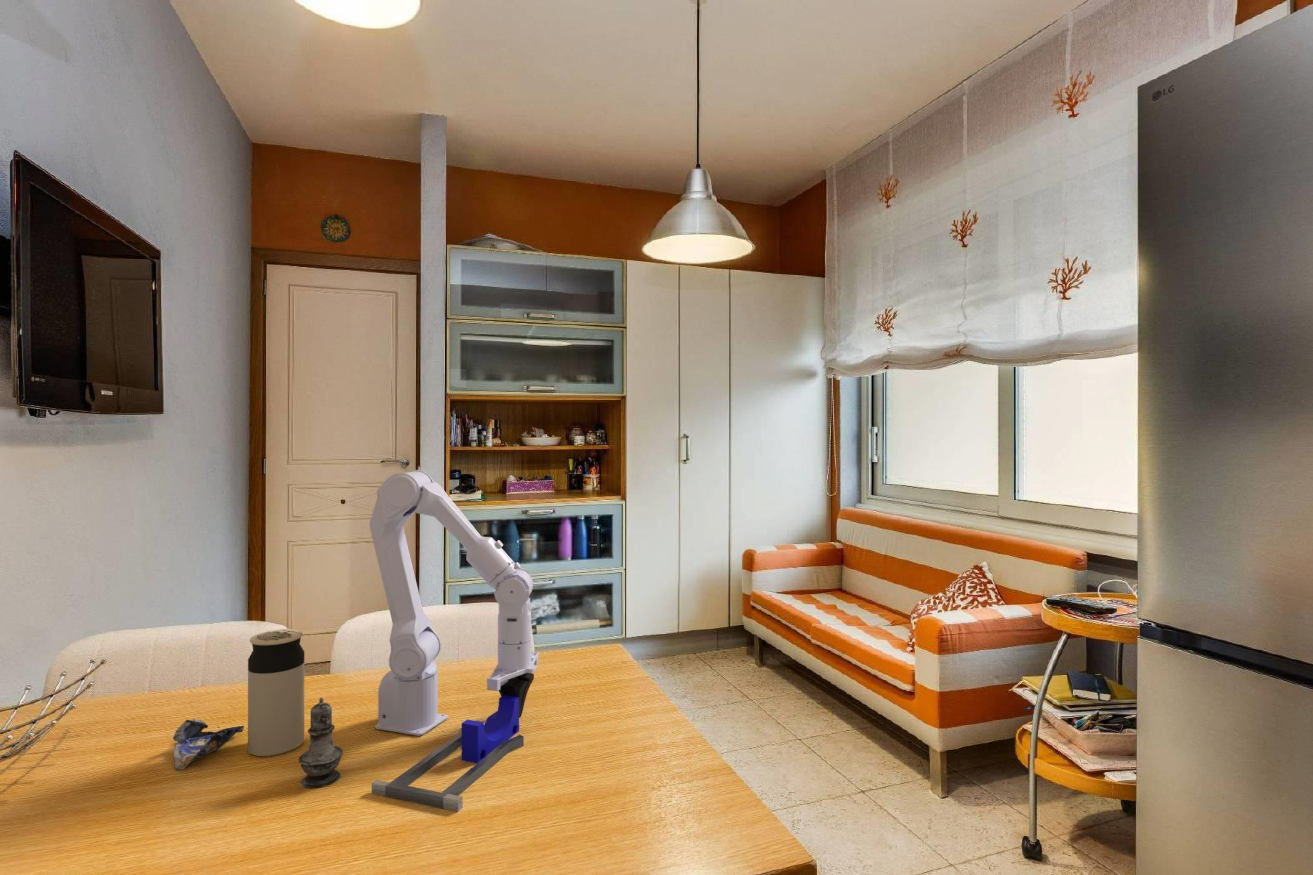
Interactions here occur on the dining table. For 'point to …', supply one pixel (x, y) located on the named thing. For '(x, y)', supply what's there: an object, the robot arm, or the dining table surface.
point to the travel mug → (275, 692)
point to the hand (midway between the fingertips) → (514, 717)
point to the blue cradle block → (490, 730)
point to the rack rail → (451, 794)
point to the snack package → (199, 740)
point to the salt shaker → (321, 750)
